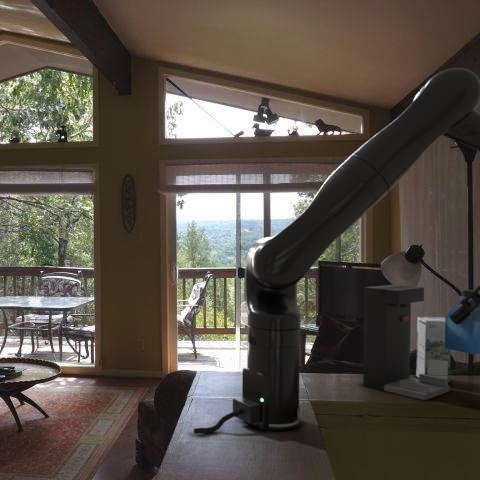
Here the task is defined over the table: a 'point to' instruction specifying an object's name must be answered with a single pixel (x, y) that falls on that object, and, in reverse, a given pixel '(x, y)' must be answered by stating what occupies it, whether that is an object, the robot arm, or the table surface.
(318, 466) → the table surface
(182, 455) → the table surface
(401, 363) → the coffee maker
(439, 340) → the syrup box
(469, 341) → the perfume bottle
